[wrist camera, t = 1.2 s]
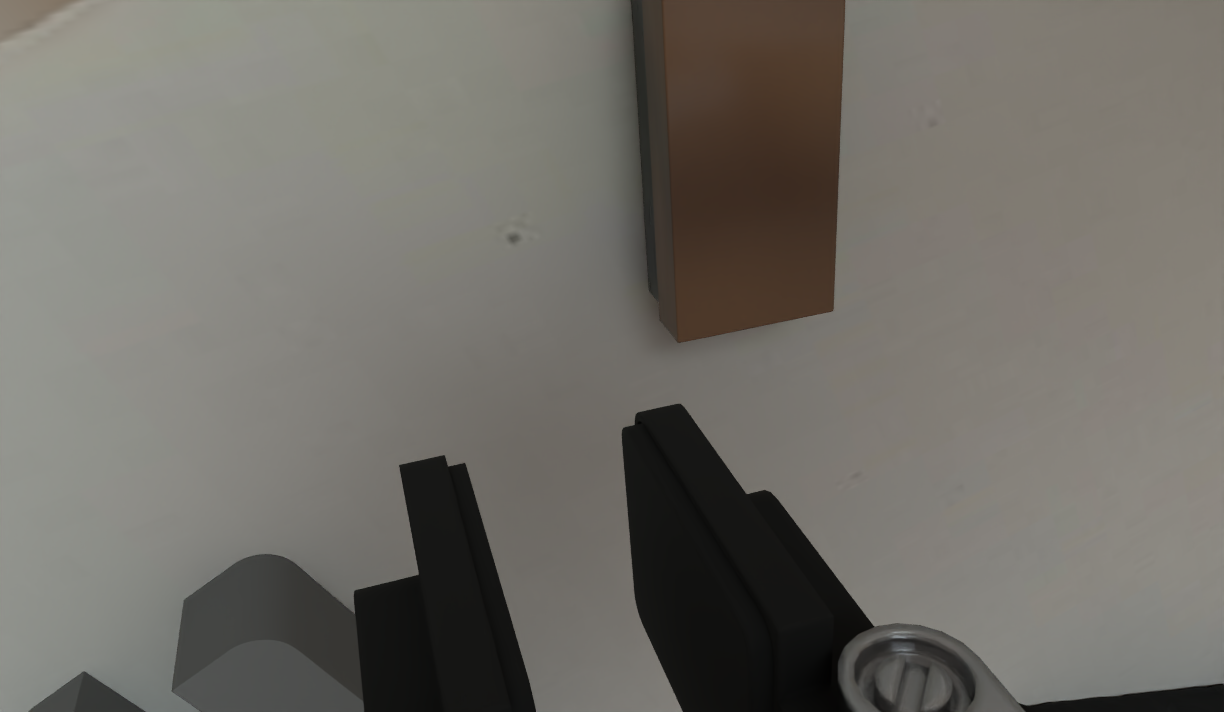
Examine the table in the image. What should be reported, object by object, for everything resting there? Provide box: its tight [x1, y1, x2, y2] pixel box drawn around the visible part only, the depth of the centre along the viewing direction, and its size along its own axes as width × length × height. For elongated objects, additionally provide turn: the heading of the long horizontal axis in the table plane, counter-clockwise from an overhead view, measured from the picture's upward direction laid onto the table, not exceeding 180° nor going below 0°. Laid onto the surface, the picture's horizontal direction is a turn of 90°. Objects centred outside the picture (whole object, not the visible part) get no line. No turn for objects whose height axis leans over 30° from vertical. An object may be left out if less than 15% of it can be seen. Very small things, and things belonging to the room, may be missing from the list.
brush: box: [631, 0, 845, 343], centre depth 25 cm, size 9×4×3 cm, turn 4°
